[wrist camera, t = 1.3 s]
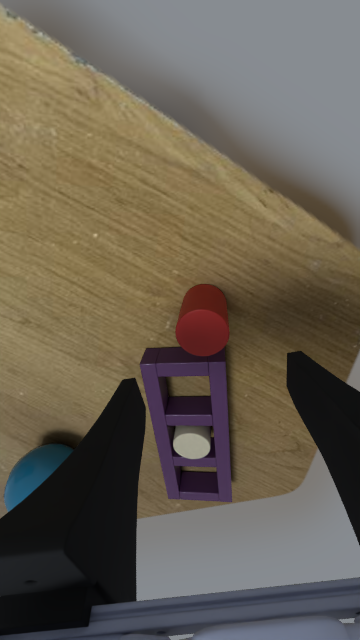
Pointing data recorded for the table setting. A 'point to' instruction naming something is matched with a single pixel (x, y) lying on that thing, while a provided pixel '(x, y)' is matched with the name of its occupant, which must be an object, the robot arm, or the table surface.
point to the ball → (33, 471)
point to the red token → (203, 321)
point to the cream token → (192, 441)
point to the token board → (189, 421)
